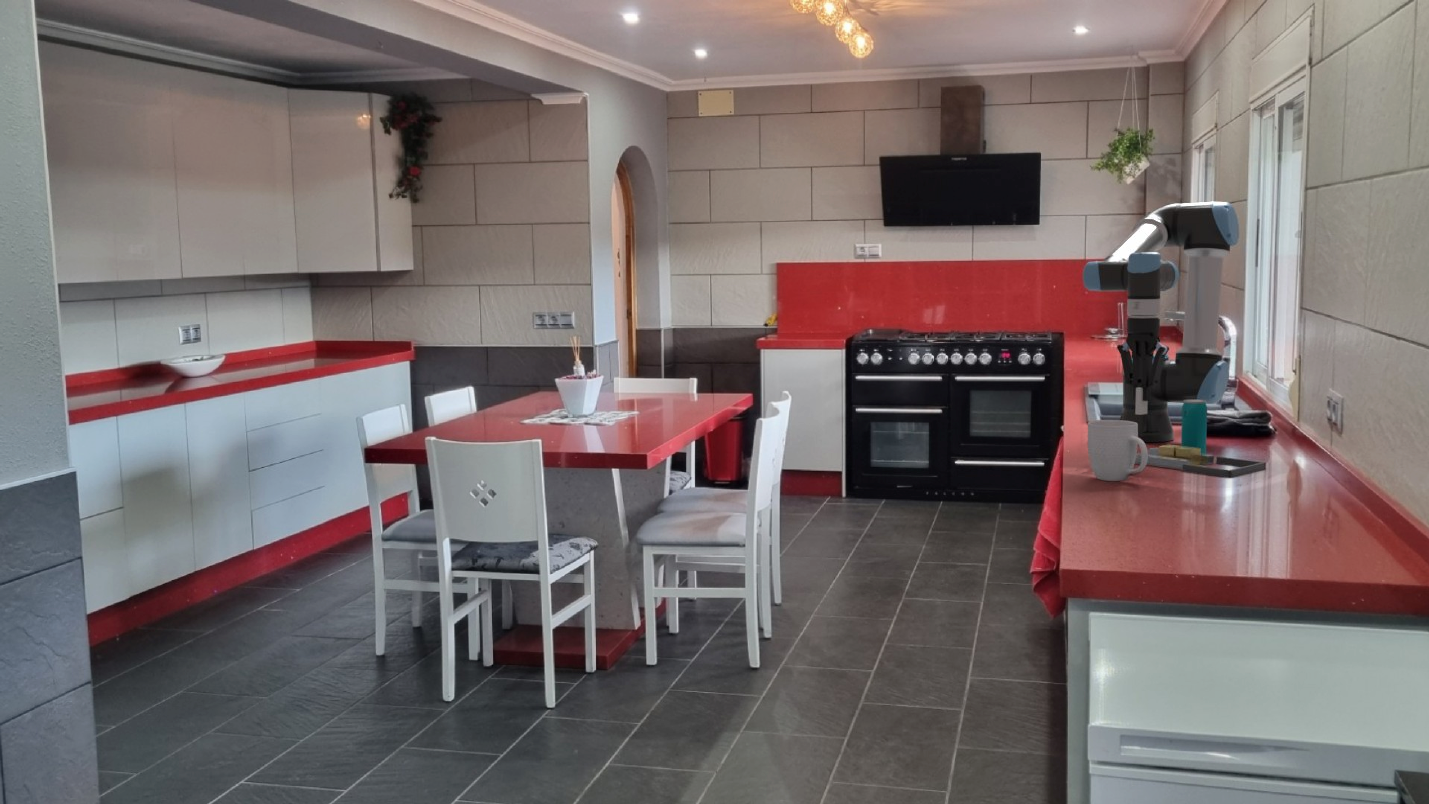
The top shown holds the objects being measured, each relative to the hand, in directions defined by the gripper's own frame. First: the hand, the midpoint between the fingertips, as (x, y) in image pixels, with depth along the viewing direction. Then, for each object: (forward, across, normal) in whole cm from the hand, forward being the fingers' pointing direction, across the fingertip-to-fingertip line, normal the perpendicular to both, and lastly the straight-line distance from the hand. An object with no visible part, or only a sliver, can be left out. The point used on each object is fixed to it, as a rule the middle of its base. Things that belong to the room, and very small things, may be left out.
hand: (1141, 413), depth 298 cm
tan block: (+11, +8, 0) cm, 14 cm away
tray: (+13, +22, 0) cm, 25 cm away
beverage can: (+13, +5, +14) cm, 20 cm away
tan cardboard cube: (+11, +12, 0) cm, 17 cm away
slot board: (+13, +7, 0) cm, 15 cm away
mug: (+13, +6, -20) cm, 24 cm away
